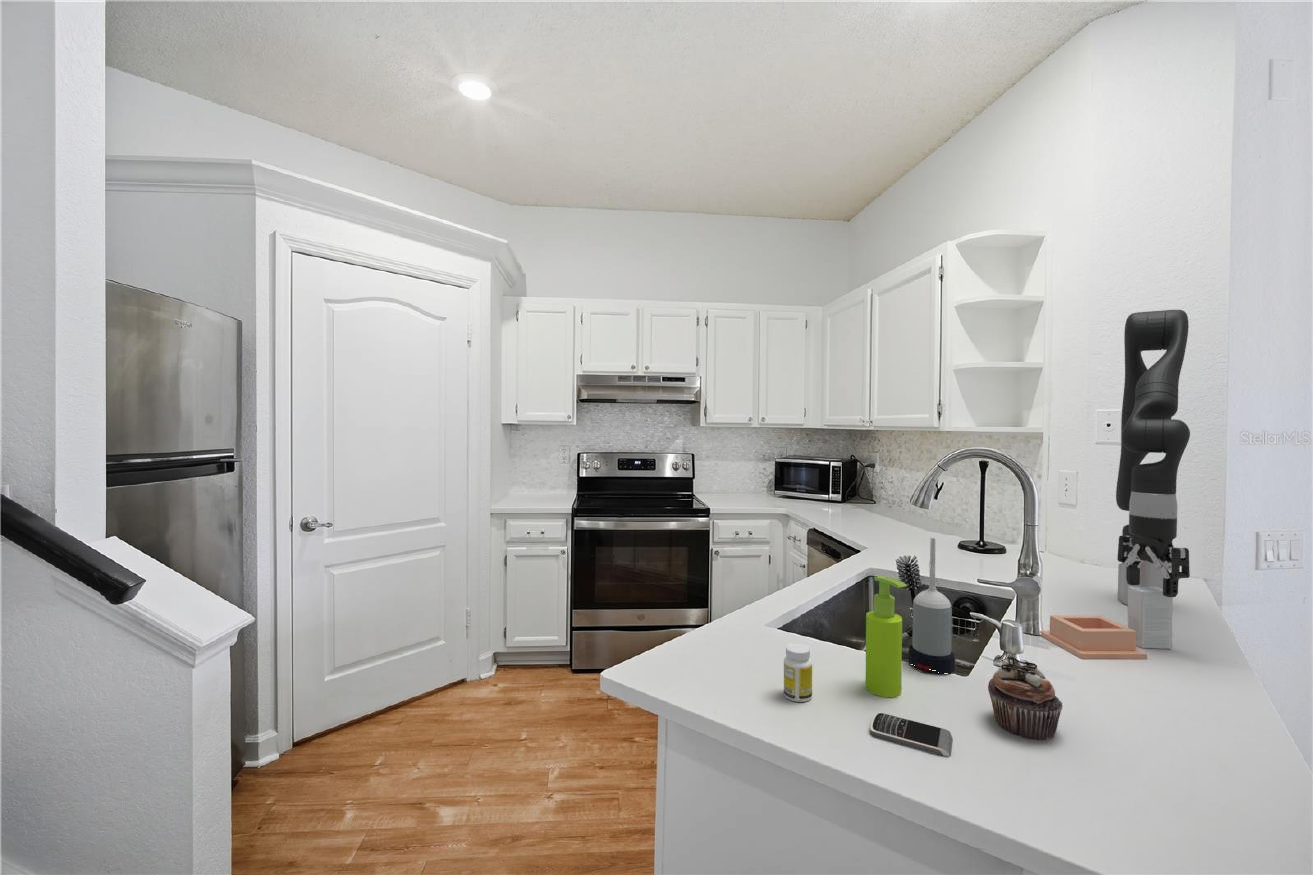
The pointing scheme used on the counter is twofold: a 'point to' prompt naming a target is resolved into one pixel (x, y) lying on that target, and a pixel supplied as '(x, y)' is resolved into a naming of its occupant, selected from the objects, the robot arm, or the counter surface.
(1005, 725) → the cupcake
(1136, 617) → the skincare box
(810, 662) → the supplement bottle
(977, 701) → the counter surface
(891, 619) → the soap dispenser
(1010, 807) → the counter surface
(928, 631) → the grey toilet brush
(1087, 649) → the tan open box
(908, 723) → the cell phone
